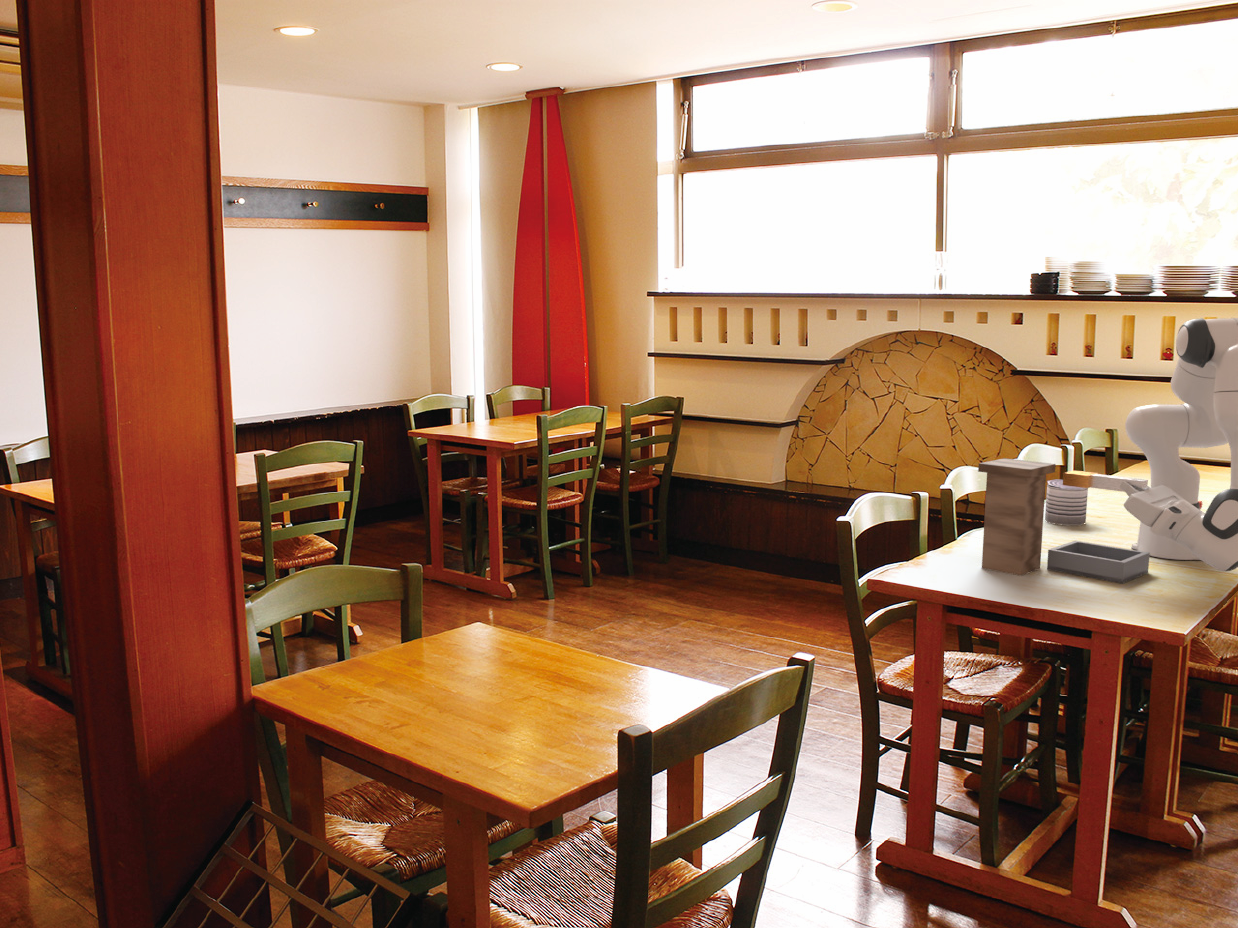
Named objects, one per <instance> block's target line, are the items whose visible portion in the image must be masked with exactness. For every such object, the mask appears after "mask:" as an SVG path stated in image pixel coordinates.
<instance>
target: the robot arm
mask: <svg viewBox="0 0 1238 928" xmlns="http://www.w3.org/2000/svg"><path fill="white" fill-rule="evenodd" d="M1175 340H1176V341H1175V346H1176V347H1175V350H1176V354H1177V356H1178V360H1177V363H1176V366H1175V368H1174V371H1173V373H1172V377H1171V380H1170V388H1171V391H1172V393H1173V394H1174V395H1175V396H1176V397H1177V398H1178V399H1179V400H1180V401H1182V402H1184V403H1182V404H1172V403H1171V404H1169V403H1168V404H1165V403H1164V404H1162V403H1161V404H1157V403H1155V404H1154V403H1153V404H1147V405H1141V406H1138V407H1134V408H1132V410H1131V411H1129V413H1128V414H1127V417H1126V420H1125V425H1124V427H1125V433H1126V435H1127V437H1128V439H1129V440H1130V441H1131V442H1132V443H1133V444H1135V445H1136V447H1138V449H1140V450H1141V452H1143V454H1144V457H1146V459H1147V463H1148V465H1149V470H1150V486H1148V485H1147V490H1144V491H1141V492H1140V491H1138V490H1136V489H1134V488H1133V487H1132V485H1131V484H1130V483H1128V482H1127V481H1126V482H1122V484H1121V485H1120V488H1121V489H1122V490H1124V491H1125V492H1124V493H1125V494H1126V495H1127V496H1128V497H1127V499H1126V501H1125V502H1124V503H1123V507H1124V509H1125V510H1126V511H1127V512H1128V513H1129V514H1130V515H1132V516H1133V517H1134V518H1136V519H1137V520H1138V521H1139V528H1138V535H1137V543H1132V544H1131V546H1130V547H1131V549H1132V550H1136V551H1142V552H1149V553H1150V555H1149V557H1150V556H1151V557H1155V558H1160V559H1167V560H1169V559H1170V560H1182V561H1184V560H1185V561H1188V560H1190V561H1192V560H1197V561H1202V562H1204V563H1205V564H1206V565H1208V566H1210V567H1212V568H1214V569H1216V570H1218V571H1220V572H1230V571H1233V570H1236V569H1237V568H1238V317H1230V318H1228V317H1227V318H1207V319H1204V318H1194V319H1190V320H1186V321H1185V322H1184V323H1183V324H1182V325H1181V326H1180V327H1179V329H1178V332H1177V335H1176V339H1175ZM1227 444H1228V445H1229V450H1230V486H1229V488H1228V489H1225V490H1222V491H1221V492H1219V493H1217V494H1216V495H1215V497H1213V499H1212V500H1211V502H1210V504H1209V505H1208V508H1207V510H1206V512H1203V511H1202V510H1201V509H1202V508H1203V501H1202V500H1199V493H1200V481H1201V480H1200V479H1201V475H1200V472H1199V471H1198V469H1197V467H1195V466H1194V465H1193V464H1190V463H1189V462H1187V461H1185V459H1184V460H1183V459H1181V457H1180V453H1179V449H1181V448H1197V449H1199V448H1200V449H1206V448H1213V447H1218V446H1224V445H1227Z"/></svg>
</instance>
